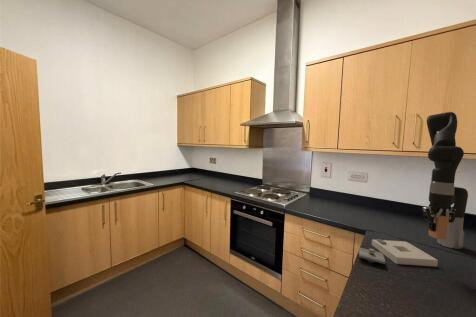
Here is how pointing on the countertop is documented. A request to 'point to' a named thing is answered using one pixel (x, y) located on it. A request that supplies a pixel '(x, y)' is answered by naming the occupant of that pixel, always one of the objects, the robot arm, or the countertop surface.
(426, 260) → the socket
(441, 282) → the countertop surface
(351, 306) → the countertop surface
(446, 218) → the plug
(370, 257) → the light switch
